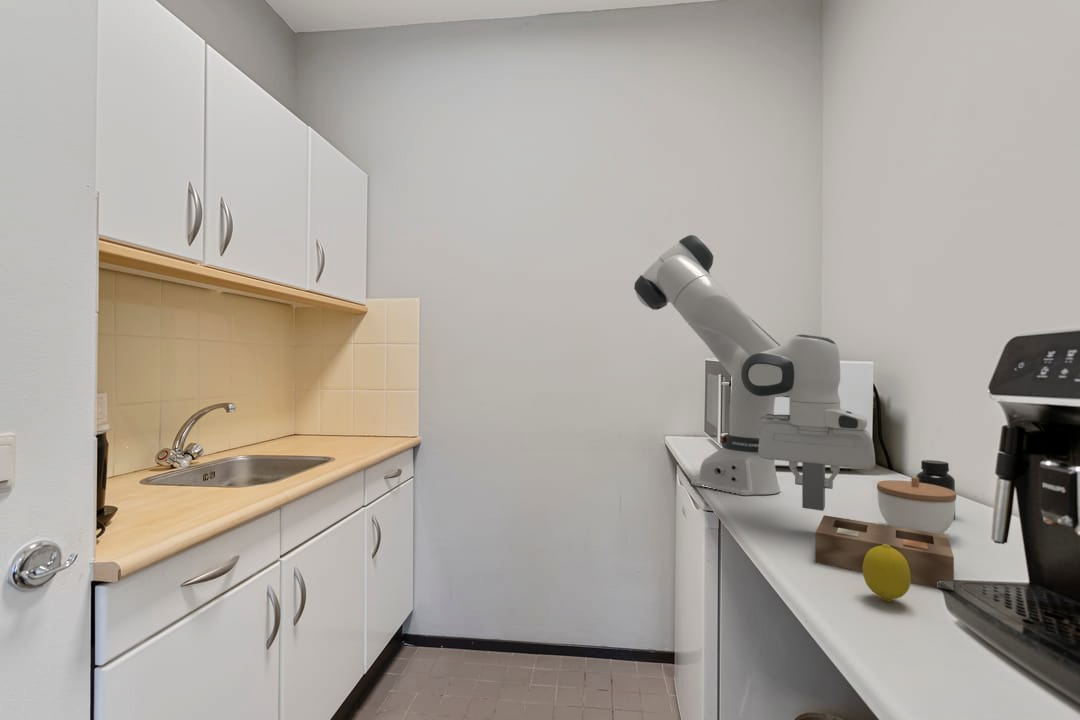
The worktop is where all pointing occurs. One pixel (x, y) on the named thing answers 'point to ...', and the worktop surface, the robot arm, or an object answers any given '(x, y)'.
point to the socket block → (854, 539)
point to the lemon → (886, 572)
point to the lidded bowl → (916, 505)
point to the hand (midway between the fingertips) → (813, 486)
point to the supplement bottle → (936, 474)
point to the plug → (813, 486)
